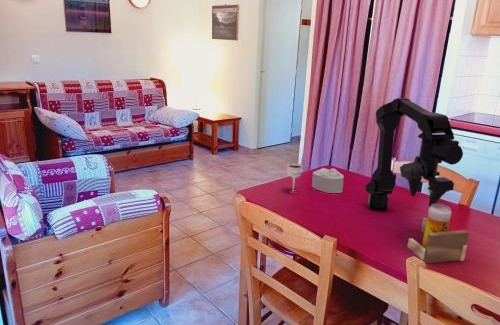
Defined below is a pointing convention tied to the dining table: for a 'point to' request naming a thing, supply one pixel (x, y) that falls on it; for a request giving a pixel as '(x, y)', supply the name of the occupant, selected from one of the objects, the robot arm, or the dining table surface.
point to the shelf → (441, 246)
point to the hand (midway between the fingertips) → (421, 201)
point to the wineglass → (294, 171)
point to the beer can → (437, 220)
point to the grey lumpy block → (328, 180)
